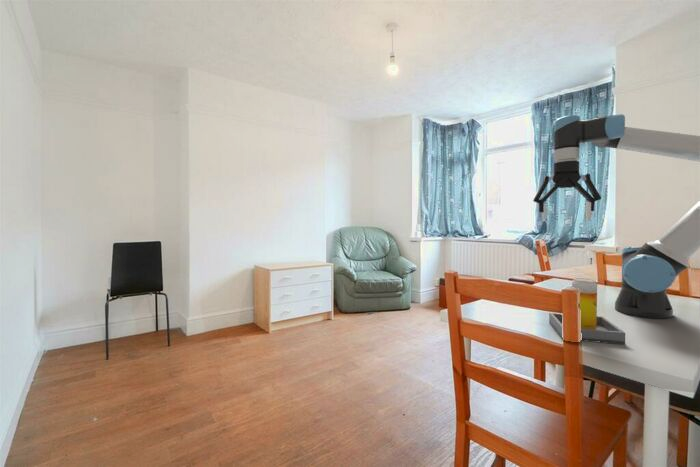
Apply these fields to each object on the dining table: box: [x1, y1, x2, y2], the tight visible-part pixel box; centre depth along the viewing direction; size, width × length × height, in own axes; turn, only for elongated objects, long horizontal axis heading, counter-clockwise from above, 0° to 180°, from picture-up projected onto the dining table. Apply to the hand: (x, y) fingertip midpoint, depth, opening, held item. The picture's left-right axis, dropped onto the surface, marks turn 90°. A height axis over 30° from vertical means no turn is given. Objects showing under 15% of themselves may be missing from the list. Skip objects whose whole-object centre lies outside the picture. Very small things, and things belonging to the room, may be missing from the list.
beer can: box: [571, 277, 598, 330], centre depth 95 cm, size 6×6×15 cm
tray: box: [548, 312, 626, 345], centre depth 95 cm, size 15×15×3 cm
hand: (565, 221), depth 115 cm, fingers open, 13 cm apart
